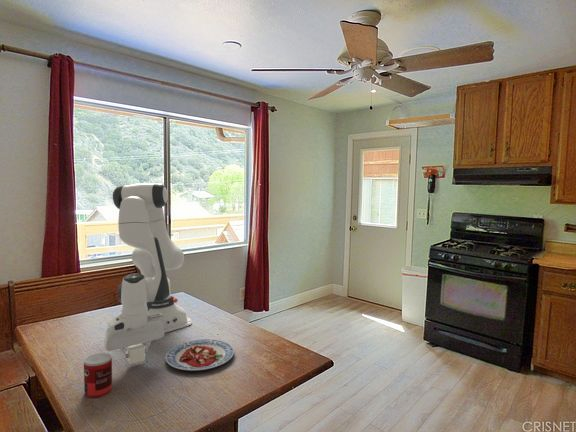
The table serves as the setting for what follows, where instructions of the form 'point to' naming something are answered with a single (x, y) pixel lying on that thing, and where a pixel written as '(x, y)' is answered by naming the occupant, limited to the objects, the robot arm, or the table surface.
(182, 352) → the ceramic plate
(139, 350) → the cream block
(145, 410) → the table surface
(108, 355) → the canned food
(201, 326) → the table surface
